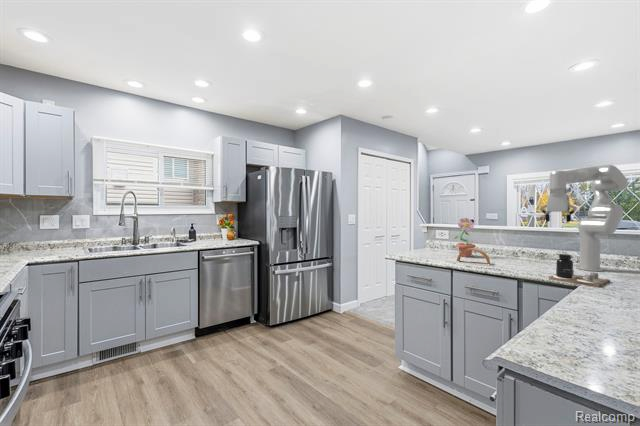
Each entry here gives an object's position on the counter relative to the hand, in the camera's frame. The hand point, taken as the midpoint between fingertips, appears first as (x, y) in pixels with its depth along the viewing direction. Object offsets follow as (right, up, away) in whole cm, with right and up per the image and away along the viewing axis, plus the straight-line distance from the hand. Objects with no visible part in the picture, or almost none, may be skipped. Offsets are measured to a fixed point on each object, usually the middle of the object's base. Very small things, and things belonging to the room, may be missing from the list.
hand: (557, 221), depth 176 cm
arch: (-33, -30, +32) cm, 55 cm away
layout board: (-4, -30, -19) cm, 36 cm away
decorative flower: (-26, -29, +60) cm, 71 cm away
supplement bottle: (-10, -29, -17) cm, 35 cm away
